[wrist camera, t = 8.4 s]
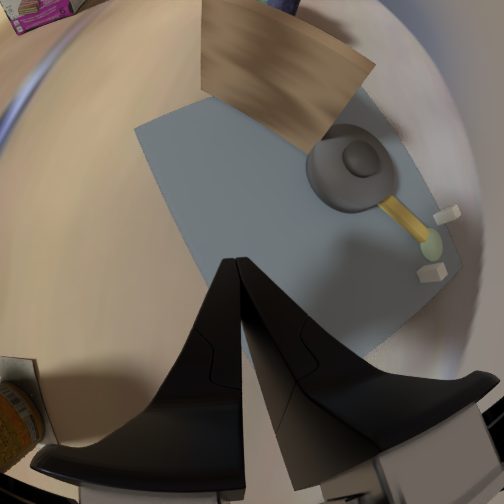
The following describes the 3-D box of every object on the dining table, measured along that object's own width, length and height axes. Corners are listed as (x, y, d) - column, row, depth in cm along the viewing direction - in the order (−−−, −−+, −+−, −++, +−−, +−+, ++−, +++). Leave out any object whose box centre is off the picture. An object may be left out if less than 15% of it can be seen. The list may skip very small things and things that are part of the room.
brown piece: (429, 211, 20) (510, 176, 11) (406, 270, 19) (502, 254, 10) (229, 66, 19) (242, -23, 10) (179, 108, 18) (170, 10, 9)
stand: (456, 267, 21) (481, 263, 18) (277, 406, 17) (289, 426, 14) (340, 70, 22) (352, 49, 19) (136, 134, 18) (126, 110, 15)
